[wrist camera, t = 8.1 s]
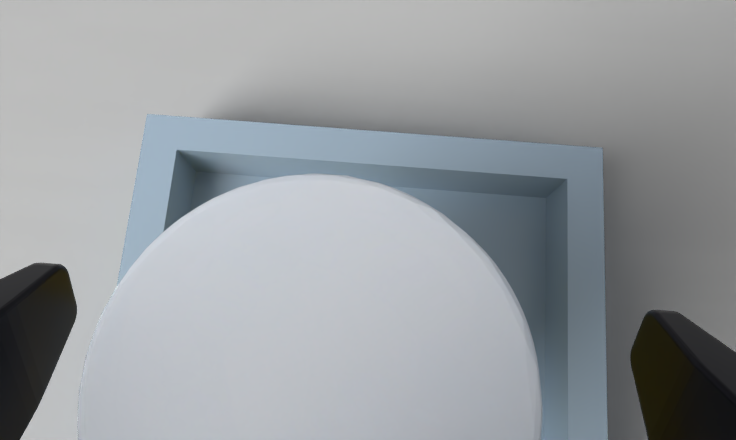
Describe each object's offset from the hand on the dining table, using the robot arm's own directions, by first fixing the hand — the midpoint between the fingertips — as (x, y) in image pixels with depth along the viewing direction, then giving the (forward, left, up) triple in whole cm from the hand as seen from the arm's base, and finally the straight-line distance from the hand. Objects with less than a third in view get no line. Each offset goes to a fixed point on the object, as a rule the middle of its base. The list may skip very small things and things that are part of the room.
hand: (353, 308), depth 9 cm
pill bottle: (-1, +1, -9) cm, 9 cm away
